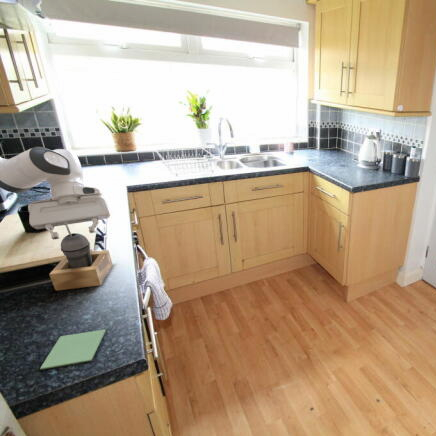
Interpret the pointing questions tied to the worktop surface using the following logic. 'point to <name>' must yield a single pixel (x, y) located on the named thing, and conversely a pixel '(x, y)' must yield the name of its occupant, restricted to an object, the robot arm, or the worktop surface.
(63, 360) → the mat
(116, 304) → the worktop surface
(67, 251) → the beverage cup
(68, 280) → the holder
